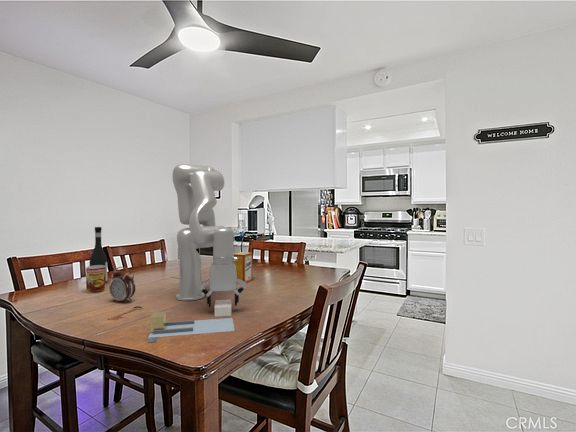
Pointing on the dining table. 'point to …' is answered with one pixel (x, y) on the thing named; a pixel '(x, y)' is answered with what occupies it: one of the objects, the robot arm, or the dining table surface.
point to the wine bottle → (98, 252)
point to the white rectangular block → (223, 308)
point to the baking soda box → (244, 266)
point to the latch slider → (157, 321)
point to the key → (124, 313)
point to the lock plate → (193, 328)
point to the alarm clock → (122, 285)
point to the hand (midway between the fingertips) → (222, 305)
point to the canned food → (95, 279)
